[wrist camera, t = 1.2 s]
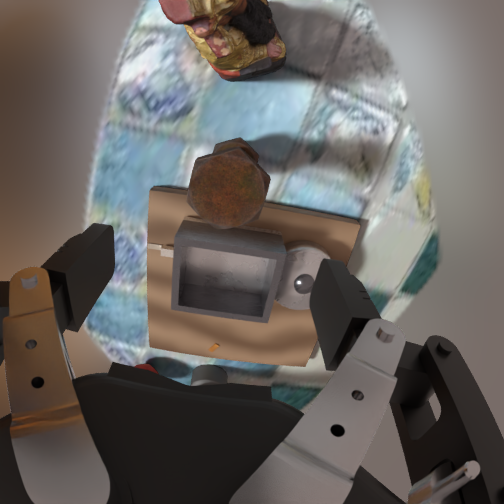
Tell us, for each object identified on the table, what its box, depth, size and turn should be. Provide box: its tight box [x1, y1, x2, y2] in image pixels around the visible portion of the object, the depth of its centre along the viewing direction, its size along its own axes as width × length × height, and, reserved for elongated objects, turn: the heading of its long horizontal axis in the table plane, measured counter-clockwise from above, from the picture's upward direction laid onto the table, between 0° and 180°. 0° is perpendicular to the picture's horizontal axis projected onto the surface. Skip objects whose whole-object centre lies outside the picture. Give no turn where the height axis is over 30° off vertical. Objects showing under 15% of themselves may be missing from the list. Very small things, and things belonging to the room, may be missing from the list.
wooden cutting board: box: [147, 186, 361, 367], centre depth 40 cm, size 25×25×2 cm
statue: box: [159, 0, 286, 82], centre depth 17 cm, size 12×8×20 cm, turn 12°
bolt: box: [186, 137, 271, 229], centre depth 26 cm, size 6×5×15 cm
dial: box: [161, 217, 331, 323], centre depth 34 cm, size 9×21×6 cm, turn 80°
